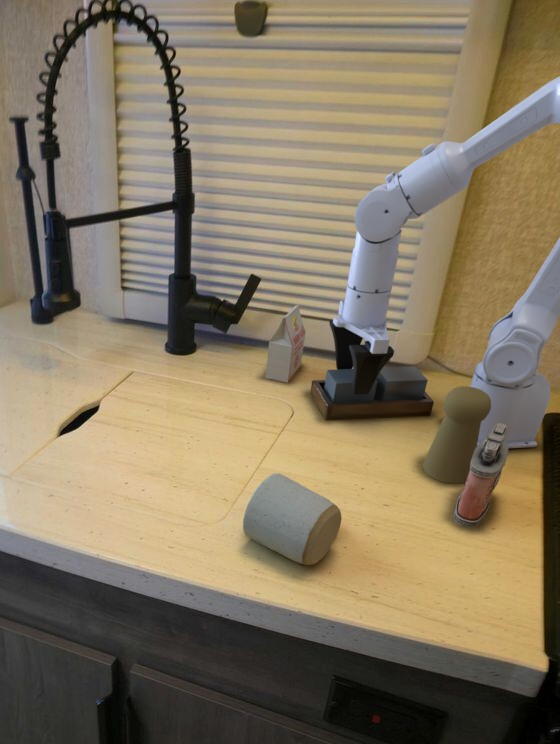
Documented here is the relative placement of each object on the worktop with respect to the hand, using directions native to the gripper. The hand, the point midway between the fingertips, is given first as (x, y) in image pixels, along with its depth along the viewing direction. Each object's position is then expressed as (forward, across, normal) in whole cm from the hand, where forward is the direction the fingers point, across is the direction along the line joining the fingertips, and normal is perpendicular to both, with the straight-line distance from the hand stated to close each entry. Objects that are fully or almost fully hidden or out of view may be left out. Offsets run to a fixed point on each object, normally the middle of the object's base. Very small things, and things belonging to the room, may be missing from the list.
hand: (352, 381), depth 95 cm
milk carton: (+4, -12, -7) cm, 14 cm away
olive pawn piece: (+4, +18, +7) cm, 20 cm away
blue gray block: (+3, 0, 0) cm, 3 cm away
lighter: (+4, +26, +7) cm, 27 cm away
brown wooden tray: (+4, 0, +3) cm, 5 cm away
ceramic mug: (+4, +30, -16) cm, 34 cm away
